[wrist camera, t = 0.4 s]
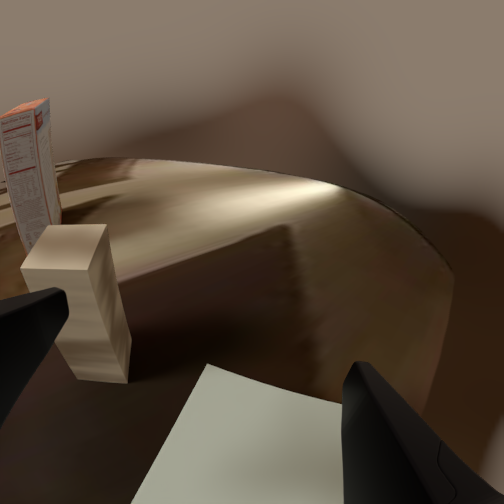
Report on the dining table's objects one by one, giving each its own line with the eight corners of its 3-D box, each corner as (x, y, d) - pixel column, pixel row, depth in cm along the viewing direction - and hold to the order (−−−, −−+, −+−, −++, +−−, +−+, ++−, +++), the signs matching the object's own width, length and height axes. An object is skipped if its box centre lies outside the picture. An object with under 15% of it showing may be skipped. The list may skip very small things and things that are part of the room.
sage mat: (353, 590, 7) (357, 591, 7) (116, 533, 10) (113, 533, 10) (389, 416, 21) (392, 413, 21) (207, 366, 25) (207, 363, 24)
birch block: (127, 383, 22) (87, 270, 14) (77, 379, 21) (20, 268, 13) (131, 339, 26) (106, 224, 18) (86, 337, 24) (47, 225, 17)
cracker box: (34, 218, 40) (18, 104, 28) (63, 211, 43) (51, 96, 31) (26, 263, 31) (-6, 116, 19) (61, 254, 34) (38, 104, 22)
